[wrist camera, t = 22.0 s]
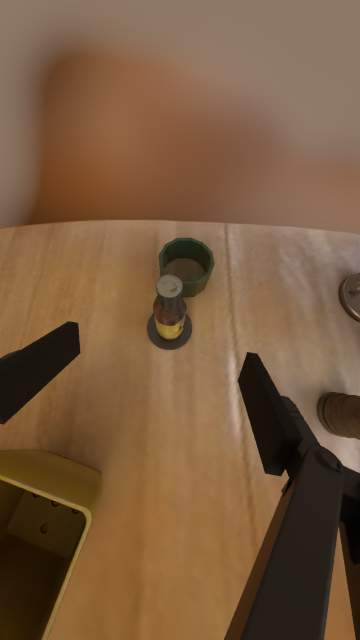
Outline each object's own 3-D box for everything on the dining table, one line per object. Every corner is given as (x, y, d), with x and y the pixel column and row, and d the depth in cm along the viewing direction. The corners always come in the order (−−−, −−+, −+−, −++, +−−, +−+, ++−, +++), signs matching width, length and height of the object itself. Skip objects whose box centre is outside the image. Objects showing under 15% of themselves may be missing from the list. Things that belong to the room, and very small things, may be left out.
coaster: (174, 300, 49) (174, 299, 49) (200, 333, 47) (200, 332, 46) (138, 322, 47) (138, 322, 46) (164, 359, 44) (164, 358, 44)
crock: (189, 248, 55) (191, 229, 48) (217, 281, 52) (224, 265, 45) (151, 270, 52) (148, 253, 45) (179, 306, 49) (180, 293, 42)
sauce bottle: (183, 340, 45) (193, 308, 26) (157, 341, 45) (148, 309, 26) (181, 314, 47) (189, 268, 29) (156, 315, 47) (148, 269, 28)
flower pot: (39, 426, 38) (-52, 455, 23) (126, 458, 37) (94, 512, 22) (-22, 545, 32) (-208, 701, 16) (79, 588, 31) (-13, 799, 15)
